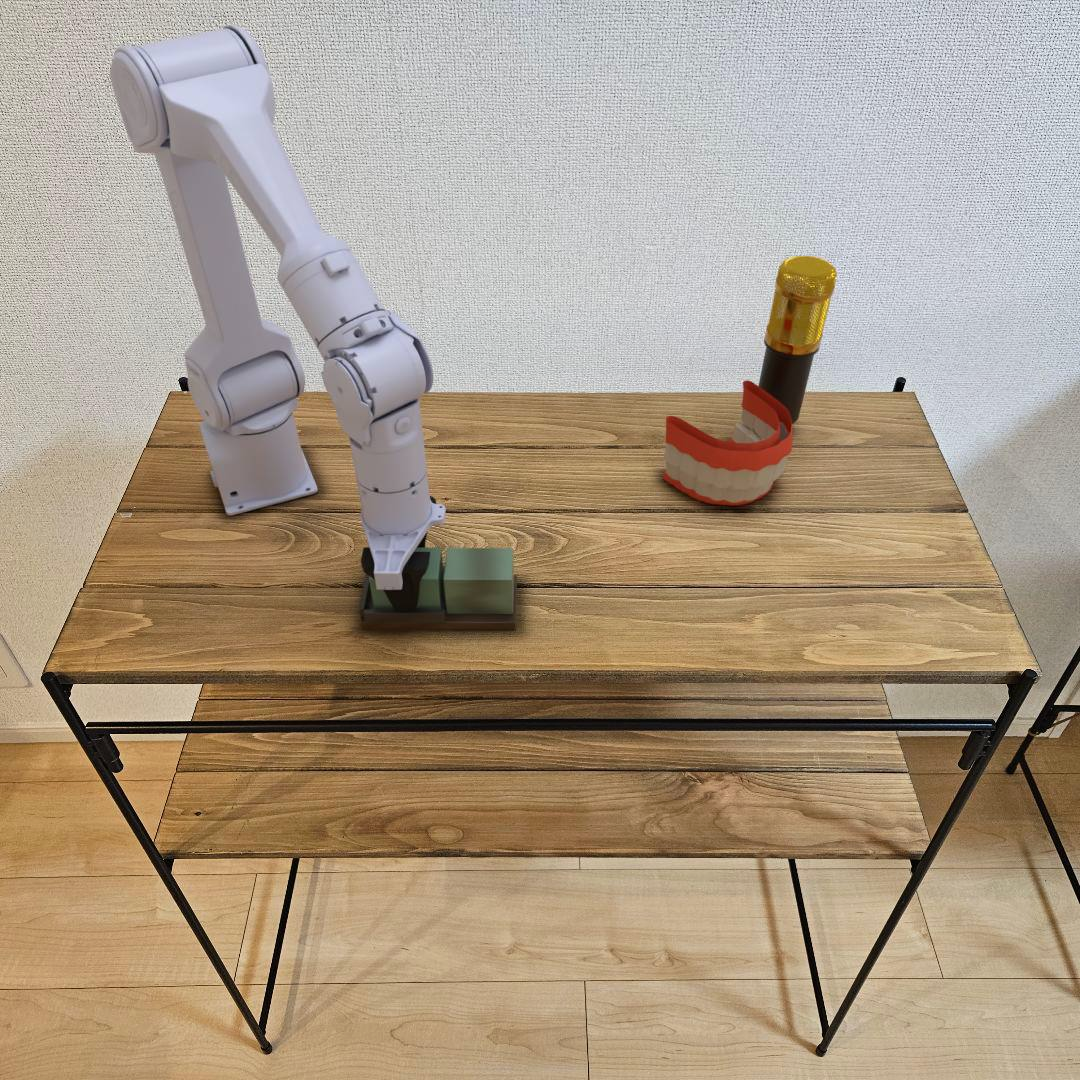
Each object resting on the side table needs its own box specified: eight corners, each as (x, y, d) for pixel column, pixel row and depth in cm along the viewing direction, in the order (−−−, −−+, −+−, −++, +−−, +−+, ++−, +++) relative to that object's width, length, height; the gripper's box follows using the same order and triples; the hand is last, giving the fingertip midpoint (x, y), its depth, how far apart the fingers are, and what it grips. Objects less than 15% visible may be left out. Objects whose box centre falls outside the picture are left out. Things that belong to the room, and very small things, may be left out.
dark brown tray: (361, 629, 80) (352, 587, 76) (370, 581, 85) (362, 540, 81) (515, 629, 80) (514, 587, 76) (517, 582, 85) (516, 540, 81)
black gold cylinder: (867, 438, 101) (919, 275, 88) (754, 443, 101) (788, 280, 87) (850, 409, 106) (897, 249, 92) (742, 414, 105) (772, 253, 91)
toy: (723, 532, 90) (735, 470, 84) (655, 479, 96) (662, 418, 90) (807, 485, 95) (823, 424, 90) (737, 438, 101) (749, 378, 96)
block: (375, 613, 80) (368, 578, 77) (380, 581, 83) (374, 547, 80) (441, 613, 80) (437, 579, 77) (444, 581, 83) (441, 547, 80)
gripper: (433, 531, 66) (445, 649, 76) (447, 418, 77) (457, 533, 86) (338, 531, 66) (363, 649, 76) (366, 418, 77) (384, 533, 86)
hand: (408, 587), depth 81 cm, fingers closed on block, 4 cm apart
